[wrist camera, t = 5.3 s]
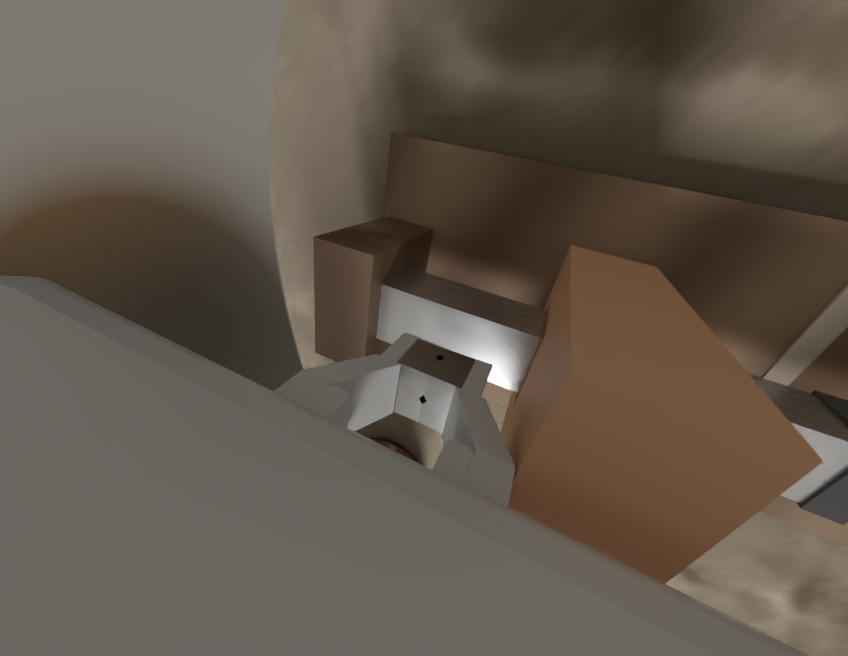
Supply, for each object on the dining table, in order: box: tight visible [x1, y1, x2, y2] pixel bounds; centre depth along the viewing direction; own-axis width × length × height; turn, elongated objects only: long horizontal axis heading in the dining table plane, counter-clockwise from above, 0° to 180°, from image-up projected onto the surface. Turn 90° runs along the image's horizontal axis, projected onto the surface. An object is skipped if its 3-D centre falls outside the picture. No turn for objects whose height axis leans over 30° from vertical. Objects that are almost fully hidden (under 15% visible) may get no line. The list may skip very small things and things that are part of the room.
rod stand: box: [314, 133, 848, 547], centre depth 12 cm, size 25×12×6 cm, turn 80°
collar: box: [501, 245, 824, 584], centre depth 10 cm, size 3×7×9 cm, turn 170°
